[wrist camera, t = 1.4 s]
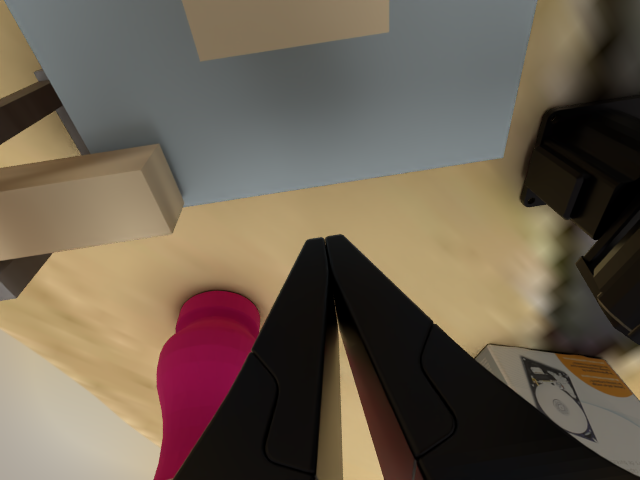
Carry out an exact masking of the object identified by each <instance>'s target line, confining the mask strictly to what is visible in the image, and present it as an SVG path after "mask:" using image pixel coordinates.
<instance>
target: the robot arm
mask: <svg viewBox="0 0 640 480" xmlns="http://www.w3.org/2000/svg"><path fill="white" fill-rule="evenodd" d="M555 115H556V117H555V119H553V120H552V121H551V119H552V117H554V116H555ZM530 198H531V199H530ZM529 199H530V200H529ZM528 200H529V201H528ZM521 203H522V204H523V205H524V206H526V207H534V206H540V205H548V206H550V207H551V208H552V209H553V210H554V211H555V212H556V213H558V214H559V215H560V216H561V217H562V218H563V219H565V220H569V219H570V220H571V221H572V222H574V223H575V224H576V225H577V226H578V227H579V228H581V229H582V230H583V231H584V232H585V233H587V234H588V235H589V236H590V237H591V238H592V239H594V240H598V241H597V242H596V243H595V244H594V245H593V246H592V247H591V249H590V250H589V251H588V252H587V253H586V254H585V256H581V257H580V259H579V260H578V261H577V262H576V263H575V264H576V266H577V268H578V269H579V271H580V273H581V275H582V276H583V278H584V280H585V281H586V283H587V285H588V287H589V288H590V290H591V292H592V293H593V295H594V297H595V298H596V300H597V302H598V304H599V305H600V307H601V309H602V310H603V312H604V314H605V315H606V317H607V318H608V319H609V321H610V322H611V324H612V325H613V327H614V328H615V329H617V330H618V331H620V332H622V333H623V334H624V335H626V336H627V337H628V338H630V339H631V340H633V341H634V342H635V343H637V344H639V345H640V95H636V96H629V97H623V98H617V99H610V100H604V101H597V102H591V103H584V104H578V105H571V106H565V107H559V108H553V109H550V110H549V111H547V112H546V113H545V115H544V117H543V119H542V123H541V127H540V130H539V134H538V138H537V141H536V145H535V149H534V150H533V154H532V157H531V161H530V165H529V168H528V172H527V176H526V180H525V185H524V189H523V192H522V196H521ZM325 243H326V245H325ZM334 301H335V302H334ZM335 307H336V309H335ZM336 313H337V316H336ZM337 319H338V323H337ZM338 324H339V329H340V333H341V337H342V340H343V344H344V347H345V350H346V354H347V357H348V360H349V364H350V367H351V370H352V374H353V377H354V380H355V384H356V387H357V390H358V394H359V397H360V400H361V404H362V407H363V410H364V414H365V417H366V420H367V424H368V427H369V430H370V434H371V437H372V440H373V444H374V447H375V450H376V454H377V457H378V460H379V464H380V467H381V470H382V474H383V477H384V480H640V476H637V475H635V474H633V473H631V472H629V471H627V470H625V469H623V468H621V467H619V466H618V465H616V464H614V463H612V462H611V461H609V460H607V459H606V458H604V457H602V456H601V455H599V454H598V453H596V452H595V451H593V450H591V449H590V448H588V447H587V446H585V445H584V444H583V443H581V442H580V441H579V440H577V439H576V438H575V437H573V436H572V435H571V434H569V433H568V432H567V431H565V430H564V429H563V428H562V427H560V426H559V425H558V424H556V423H555V422H554V421H553V420H551V419H550V418H549V417H547V416H546V415H545V414H543V413H542V412H541V411H540V410H538V409H537V408H536V407H534V406H533V405H532V404H531V403H529V402H528V401H527V400H525V399H524V398H523V397H522V396H520V395H519V394H518V393H516V392H515V391H514V390H513V389H511V388H510V387H509V386H507V385H506V384H505V383H504V382H502V381H501V380H500V379H498V378H497V377H496V376H495V375H493V374H492V373H491V372H490V371H488V370H487V369H486V368H485V367H484V366H482V365H481V364H480V363H479V362H477V361H476V360H475V359H474V358H472V357H471V356H470V355H469V354H468V353H467V352H466V351H465V350H463V349H462V348H461V347H460V346H459V345H458V344H457V343H456V342H455V341H454V340H452V339H451V338H450V337H449V336H448V335H447V334H446V333H445V332H444V331H443V330H442V329H441V328H440V327H439V326H438V325H437V324H433V321H432V320H431V319H430V318H429V317H428V316H427V315H426V314H425V313H424V312H423V311H422V310H421V309H420V308H419V307H418V306H417V305H416V304H415V303H414V302H412V301H411V300H410V299H409V298H408V297H407V296H406V295H405V294H404V293H403V292H402V291H401V290H400V289H399V288H398V287H397V286H396V285H395V284H394V283H393V282H392V281H391V280H390V279H388V278H387V277H386V276H385V275H384V274H383V273H382V272H381V271H380V270H379V269H378V268H377V267H376V266H375V265H374V264H373V263H372V262H371V261H370V260H369V259H368V258H367V257H366V256H364V255H363V254H362V253H361V252H360V251H359V250H358V249H357V248H356V247H355V246H354V245H353V244H352V243H351V242H350V241H349V240H348V239H347V238H346V237H345V236H344V235H342V234H339V235H333V236H327V237H326V238H325V240H324V238H322V237H320V238H313V239H308V240H307V241H306V242H305V244H304V246H303V248H302V250H301V252H300V254H299V256H298V258H297V260H296V262H295V264H294V266H293V267H292V269H291V271H290V273H289V275H288V277H287V279H286V281H285V283H284V285H283V287H282V289H281V291H280V293H279V295H278V297H277V299H276V301H275V303H274V305H273V307H272V309H271V311H270V313H269V315H268V317H267V319H266V321H265V323H264V325H263V327H262V329H261V331H260V333H259V335H258V337H257V339H256V341H255V343H254V344H253V346H252V348H251V352H250V353H249V354H248V356H247V358H246V360H245V362H244V364H243V366H242V368H241V370H240V372H239V373H238V375H237V377H236V379H235V381H234V383H233V384H232V386H231V388H230V390H229V392H228V394H227V395H226V397H225V399H224V400H223V402H222V403H221V405H220V407H219V408H218V410H217V411H216V413H215V415H214V416H213V418H212V419H211V421H210V423H209V424H208V426H207V427H206V429H205V430H204V432H203V433H202V435H201V436H200V438H199V440H198V441H197V443H196V444H195V446H194V447H193V449H192V450H191V452H190V453H189V455H188V456H187V458H186V459H185V461H184V463H183V464H182V466H181V467H180V469H179V470H178V472H177V473H176V475H175V476H174V478H173V479H172V480H343V463H342V430H341V396H340V363H339V334H338Z"/></svg>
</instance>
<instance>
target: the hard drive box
mask: <svg viewBox="0 0 640 480" xmlns="http://www.w3.org/2000/svg"><path fill="white" fill-rule="evenodd" d="M475 360H476V361H477V362H479V363H480V364H481V365H482V366H484V367H485V368H486V369H487V370H488V371H490V372H491V373H492V374H493V375H495V376H496V377H497V378H498V379H500V380H501V381H502V382H504V383H505V384H506V385H507V386H509V387H510V388H511V389H513V390H514V391H515V392H516V393H518V394H519V395H520V396H522V397H523V398H524V399H525V400H527V401H528V402H529V403H531V404H532V405H533V406H534V407H536V408H537V409H538V410H540V411H541V412H542V413H543V414H545V415H546V416H547V417H549V418H550V419H551V420H553V421H554V422H555V423H556V424H558V425H559V426H560V427H562V428H563V429H564V430H565V431H567V432H568V433H569V434H571V435H572V436H573V437H575V438H576V439H577V440H579V441H580V442H581V443H583V444H584V445H585V446H587V447H588V448H590V449H591V450H593V451H595V452H596V453H598V454H599V455H601V456H602V457H604V458H606V459H607V460H609V461H611V462H612V463H614V464H616V465H618V466H619V467H621V468H623V469H625V470H627V471H629V472H631V473H633V474H635V475H637V476H640V401H639V399H638V398H637V397H636V396H635V395H634V394H633V392H632V391H631V390H630V389H629V387H628V386H627V385H626V384H625V383H624V382H623V380H622V379H621V378H620V377H619V376H618V374H617V373H616V372H615V371H614V370H613V369H612V367H611V366H610V365H609V364H608V363H607V361H606V360H602V359H595V358H588V357H585V356H581V355H565V354H558V353H550V352H543V351H535V350H528V349H526V348H519V347H506V346H498V345H490V344H489V345H487V346H486V347H485V348H484V349H483V351H482V352H481V353H480V354H479V355H478V356H477V357H476V358H475Z"/></svg>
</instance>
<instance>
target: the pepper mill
mask: <svg viewBox="0 0 640 480" xmlns="http://www.w3.org/2000/svg"><path fill="white" fill-rule="evenodd" d="M259 327H260V315H259V312H258V310H257V308H256V306H255V305H254V304H253V303H252V302H251V301H250V300H248V299H246V298H245V297H243V296H241V295H239V294H236V293H232V292H228V291H209V292H204V293H201V294H198V295H195V296H193V297H192V298H190V299H189V300H188V301H186V303H185V304H184V305H183V306H182V308H181V311H180V314H179V318H178V321H177V325H176V334H174V335H173V336H172V337H171V338H170V339H169V340H168V341H167V342H166V343H165V345H164V346H163V349H162V351H161V353H160V357H159V362H158V366H157V390H158V395H159V400H160V405H161V409H162V418H163V440H162V446H161V452H160V458H159V464H158V467H157V470H156V474H155V477H154V480H172V479H173V478H174V476H175V475H176V473H177V472H178V470H179V469H180V467H181V466H182V464H183V463H184V461H185V459H186V458H187V456H188V455H189V453H190V452H191V450H192V449H193V447H194V446H195V444H196V443H197V441H198V440H199V438H200V436H201V435H202V433H203V432H204V430H205V429H206V427H207V426H208V424H209V423H210V421H211V419H212V418H213V416H214V415H215V413H216V411H217V410H218V408H219V407H220V405H221V403H222V402H223V400H224V399H225V397H226V395H227V394H228V392H229V390H230V388H231V386H232V384H233V383H234V381H235V379H236V377H237V375H238V373H239V372H240V370H241V368H242V366H243V364H244V362H245V360H246V358H247V356H248V354H249V353H250V352H251V348H252V346H253V344H254V343H255V341H256V339H257V337H258V335H259Z"/></svg>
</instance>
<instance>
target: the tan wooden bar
mask: <svg viewBox="0 0 640 480" xmlns="http://www.w3.org/2000/svg"><path fill="white" fill-rule="evenodd" d="M183 206H184V201H183V198H182V196H181V193H180V191H179V189H178V186H177V184H176V182H175V179H174V177H173V175H172V172H171V170H170V168H169V165H168V163H167V161H166V158H165V156H164V154H163V151H162V149H161V147H160V144H152V145H146V146H140V147H133V148H127V149H120V150H114V151H107V152H101V153H94V154H88V155H82V156H75V157H69V158H62V159H56V160H49V161H43V162H36V163H30V164H24V165H17V166H11V167H4V168H0V261H2V260H9V259H15V258H21V257H28V256H34V255H41V254H47V253H54V252H60V251H67V250H73V249H80V248H86V247H92V246H99V245H105V244H112V243H118V242H125V241H131V240H138V239H144V238H151V237H157V236H163V235H170V234H172V233H173V230H174V228H175V225H176V223H177V221H178V218H179V216H180V213H181V211H182V208H183Z"/></svg>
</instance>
